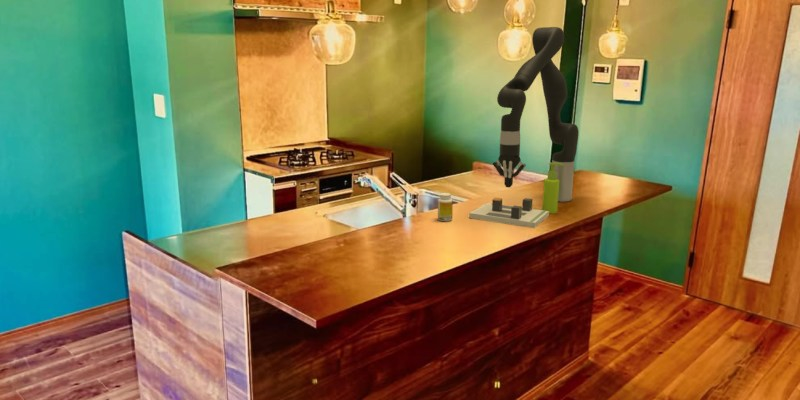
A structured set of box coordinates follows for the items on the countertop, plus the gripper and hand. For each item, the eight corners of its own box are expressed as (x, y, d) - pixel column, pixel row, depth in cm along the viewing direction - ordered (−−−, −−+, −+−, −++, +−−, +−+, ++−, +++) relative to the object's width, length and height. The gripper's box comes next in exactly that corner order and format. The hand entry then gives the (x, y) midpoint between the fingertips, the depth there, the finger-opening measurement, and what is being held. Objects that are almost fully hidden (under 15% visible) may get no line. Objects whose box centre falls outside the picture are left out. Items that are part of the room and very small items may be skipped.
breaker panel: (486, 207, 233) (486, 202, 232) (548, 216, 220) (548, 210, 220) (469, 217, 218) (469, 212, 217) (534, 227, 205) (534, 222, 205)
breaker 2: (524, 207, 223) (525, 198, 222) (531, 208, 222) (532, 199, 221) (522, 209, 221) (522, 199, 220) (529, 210, 219) (530, 200, 218)
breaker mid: (494, 208, 223) (495, 197, 222) (501, 209, 221) (502, 198, 220) (492, 210, 220) (492, 199, 219) (499, 211, 219) (499, 200, 218)
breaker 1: (513, 215, 213) (514, 205, 212) (521, 216, 211) (521, 206, 210) (510, 217, 210) (511, 207, 209) (518, 218, 209) (519, 208, 208)
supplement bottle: (454, 221, 214) (455, 195, 211) (441, 222, 212) (441, 196, 209) (448, 217, 219) (449, 191, 216) (435, 218, 217) (435, 193, 215)
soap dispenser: (560, 214, 223) (563, 164, 218) (542, 213, 224) (545, 164, 219) (559, 210, 229) (562, 161, 224) (541, 209, 230) (545, 161, 225)
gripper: (530, 142, 212) (528, 186, 217) (497, 139, 218) (495, 183, 223) (523, 145, 206) (521, 190, 210) (489, 142, 212) (488, 187, 217)
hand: (508, 186), depth 217 cm, fingers closed
